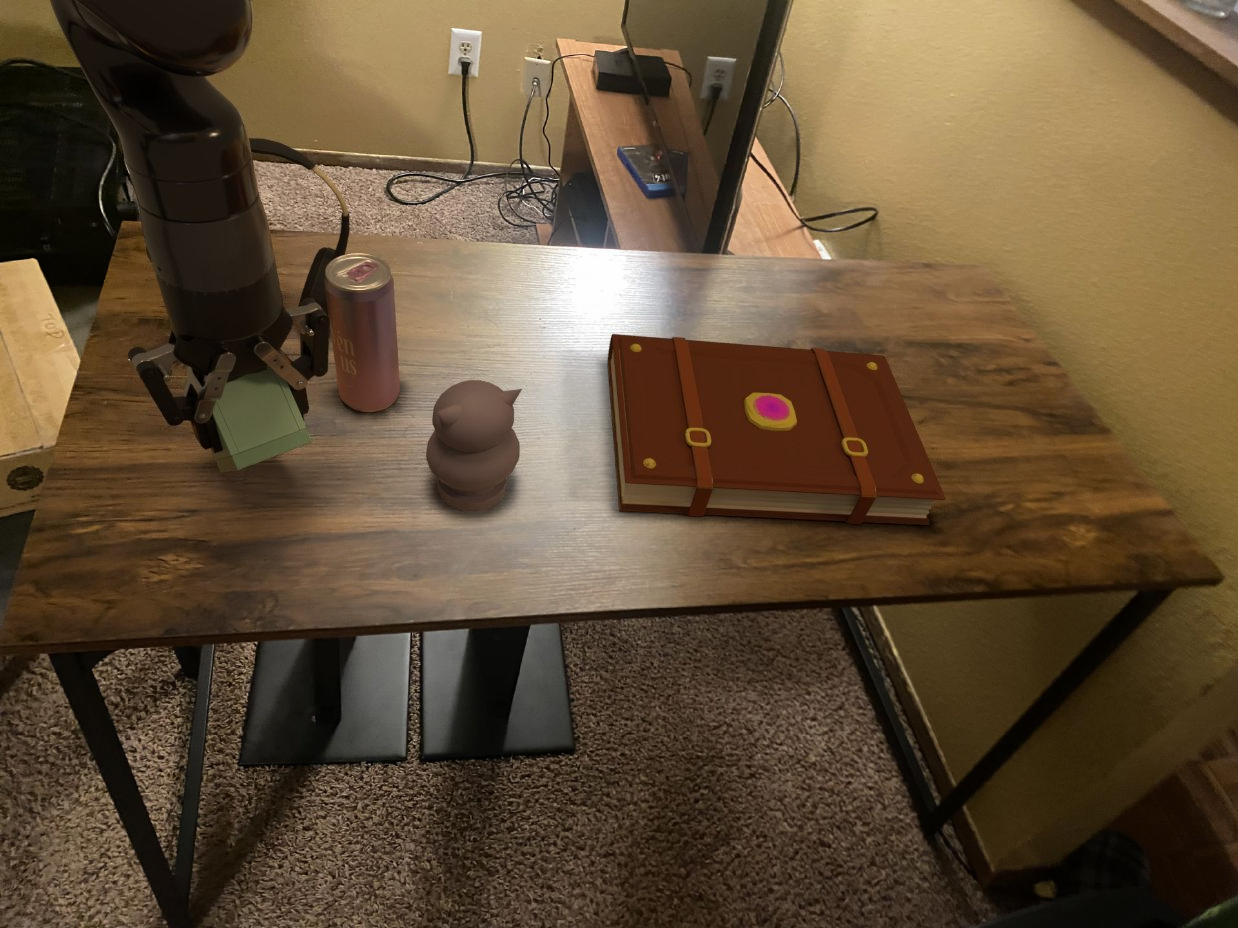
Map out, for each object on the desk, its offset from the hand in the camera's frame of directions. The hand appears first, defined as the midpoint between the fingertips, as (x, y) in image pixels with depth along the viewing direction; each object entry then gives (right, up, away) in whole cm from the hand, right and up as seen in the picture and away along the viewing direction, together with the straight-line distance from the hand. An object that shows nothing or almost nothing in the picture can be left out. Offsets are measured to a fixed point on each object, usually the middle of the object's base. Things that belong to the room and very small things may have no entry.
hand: (256, 430), depth 68 cm
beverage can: (+4, +4, +17) cm, 18 cm away
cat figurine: (+16, -5, +11) cm, 20 cm away
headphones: (-6, +13, +24) cm, 28 cm away
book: (+44, 0, +21) cm, 49 cm away
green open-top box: (-4, +1, +4) cm, 6 cm away
